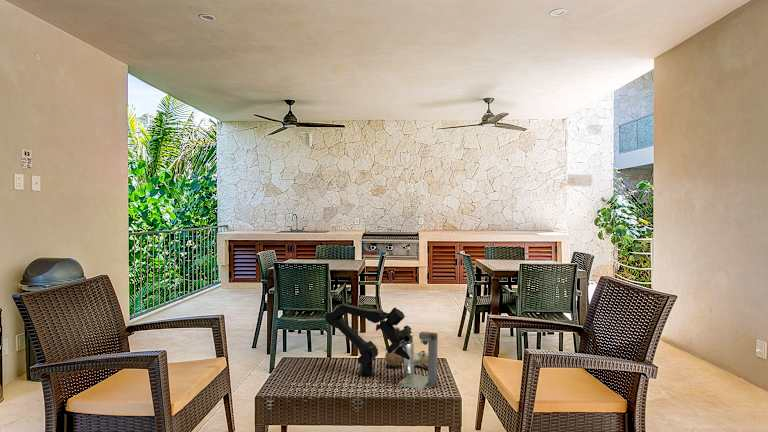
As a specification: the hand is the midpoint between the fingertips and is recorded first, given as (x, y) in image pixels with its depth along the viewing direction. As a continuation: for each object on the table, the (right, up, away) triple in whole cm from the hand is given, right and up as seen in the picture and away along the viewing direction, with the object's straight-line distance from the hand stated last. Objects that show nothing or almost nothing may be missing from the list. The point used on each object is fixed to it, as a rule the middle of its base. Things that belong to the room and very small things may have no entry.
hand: (411, 357), depth 212 cm
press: (+3, -11, -4) cm, 12 cm away
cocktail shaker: (-1, -7, 0) cm, 7 cm away
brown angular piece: (-3, -12, +31) cm, 33 cm away
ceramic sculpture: (+8, -12, +22) cm, 27 cm away
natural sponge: (-8, -12, +22) cm, 26 cm away
